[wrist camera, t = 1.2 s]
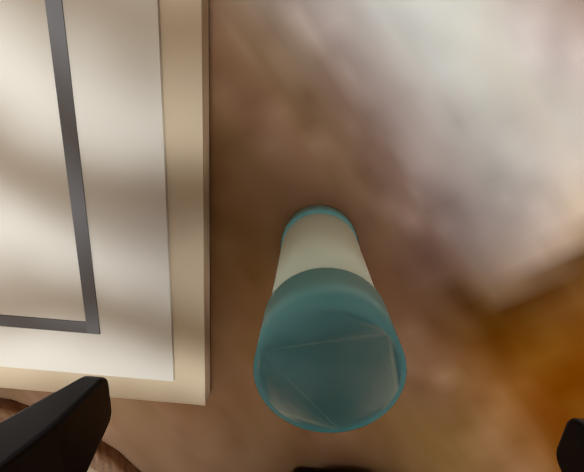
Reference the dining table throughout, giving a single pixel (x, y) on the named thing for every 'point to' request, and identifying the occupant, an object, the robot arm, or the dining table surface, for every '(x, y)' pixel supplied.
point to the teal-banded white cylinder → (326, 331)
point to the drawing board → (105, 196)
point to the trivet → (106, 462)
